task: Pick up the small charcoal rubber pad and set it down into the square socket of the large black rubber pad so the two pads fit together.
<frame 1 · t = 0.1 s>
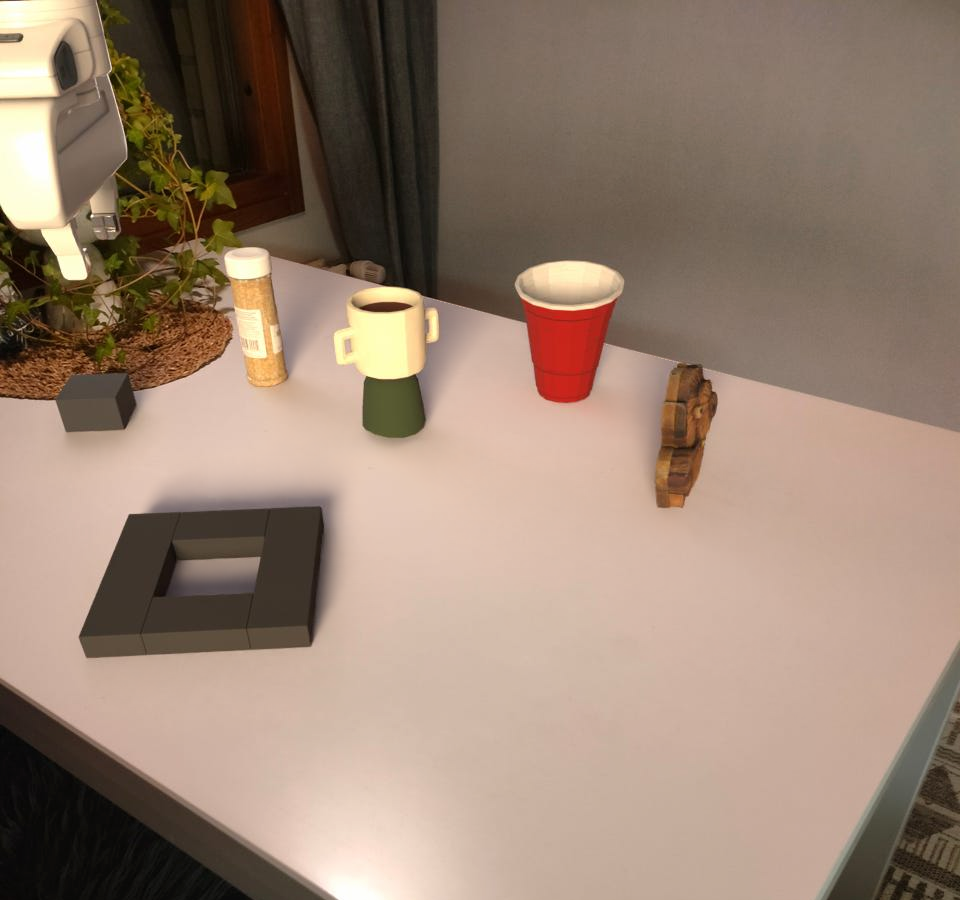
hand: (94, 256, 71), 20 cm above the table, tool pointing down, fingers open, 8 cm apart
wooden carving: (678, 482, 84), on the table
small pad: (102, 417, 94), on the table
base pad: (215, 586, 72), on the table
sprinkles bottle: (267, 380, 101), on the table
plastic cup: (563, 394, 98), on the table
character mug: (394, 431, 92), on the table
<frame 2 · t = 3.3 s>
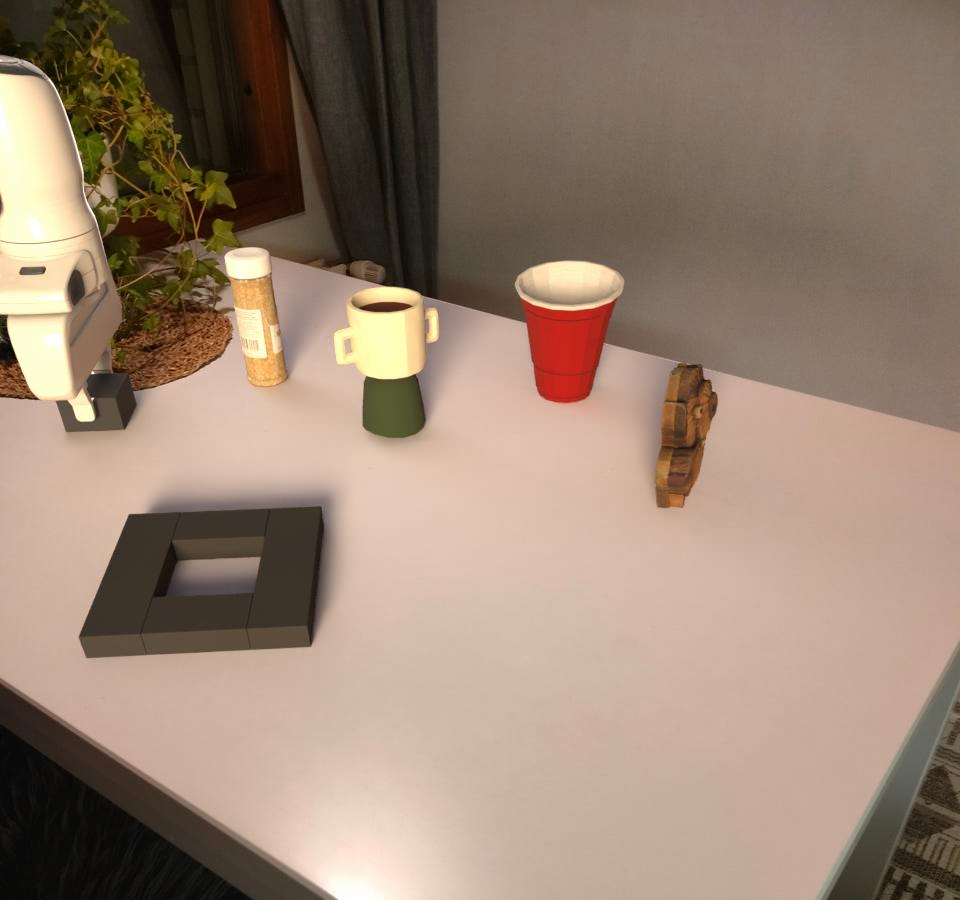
hand: (97, 402, 93), 2 cm above the table, tool pointing down, fingers closed on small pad, 6 cm apart
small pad: (102, 417, 94), on the table, touching gripper
everything else where it was.
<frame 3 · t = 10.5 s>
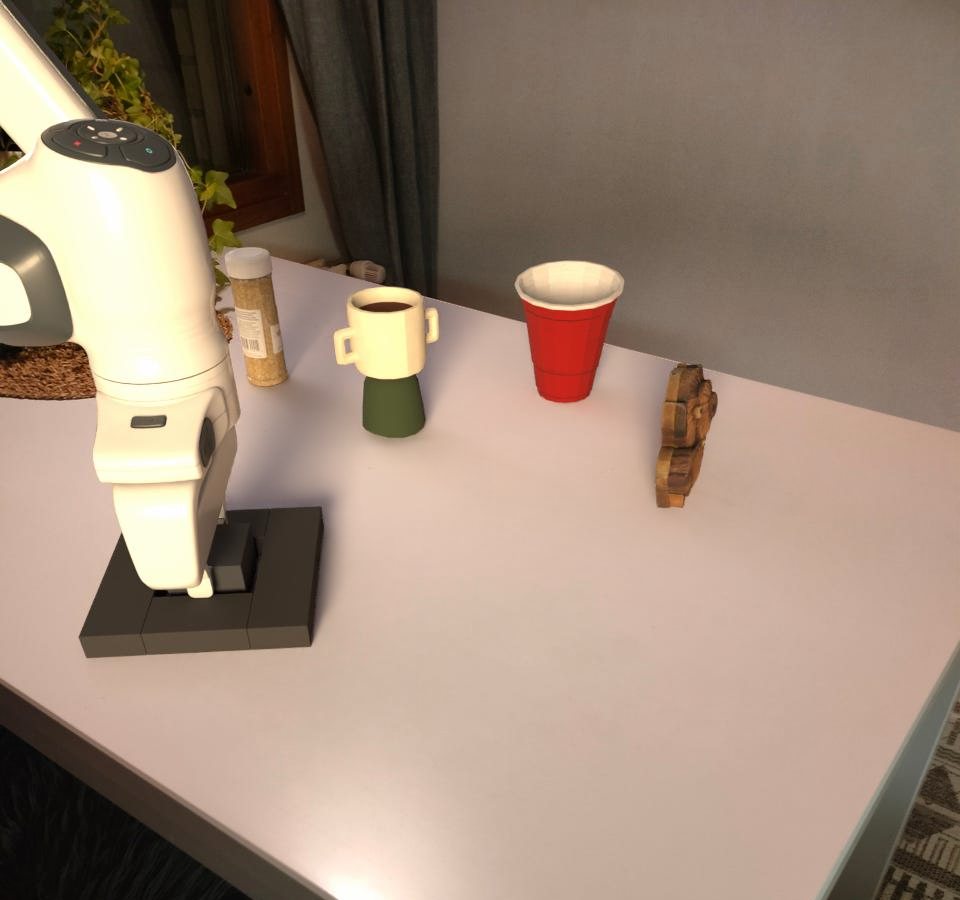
hand: (210, 564, 71), 2 cm above the table, tool pointing down, fingers closed on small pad, 6 cm apart
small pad: (216, 582, 72), resting in base pad, touching gripper
everything else where it was.
when the fingers open (3 cm above the table, at t = 17.6 s): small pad stays where it is, resting in base pad.
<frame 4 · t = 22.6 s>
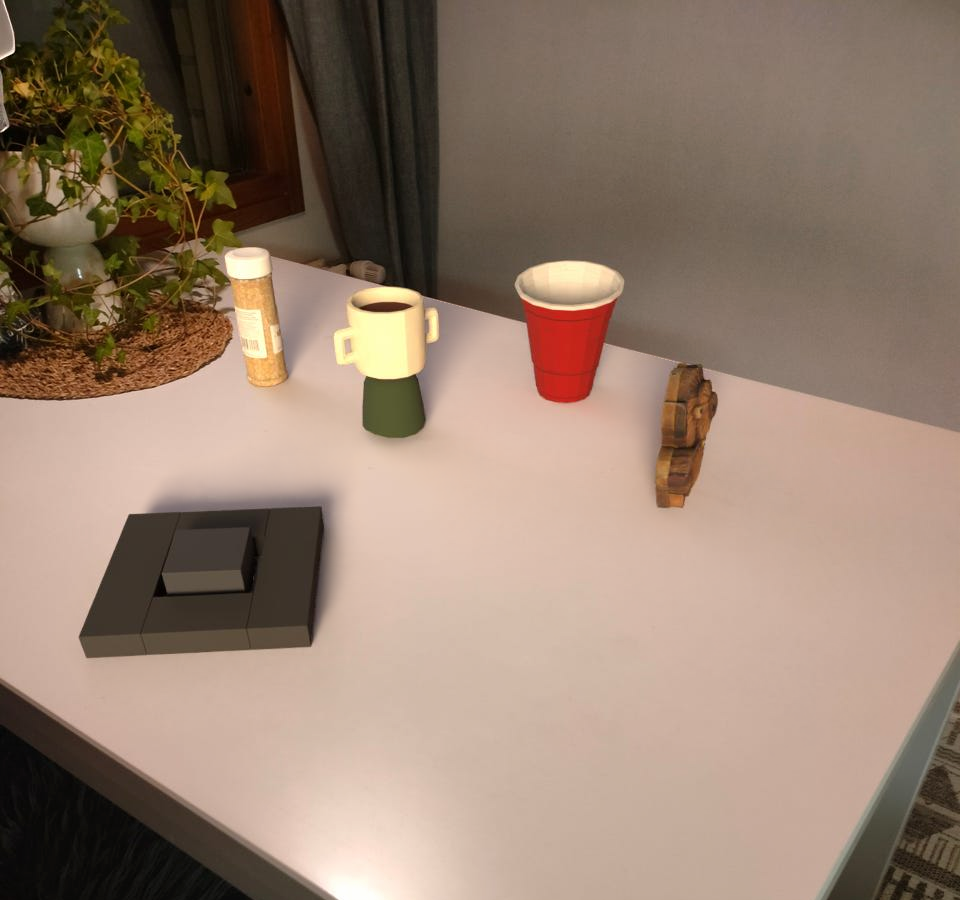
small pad: (216, 586, 72), resting in base pad
everything else where it was.
at the end: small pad 0.0 cm off-centre on the base pad, point 0.0 cm above the base pad's base; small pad tilted 0°; the gripper is holding nothing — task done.
